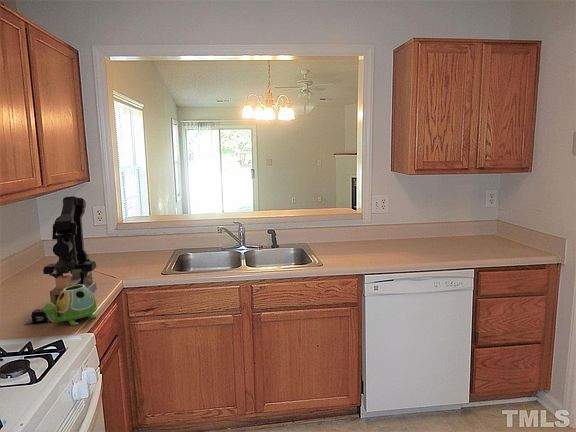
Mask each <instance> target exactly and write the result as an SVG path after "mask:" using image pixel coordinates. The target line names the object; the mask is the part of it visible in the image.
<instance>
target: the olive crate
mask: <svg viewBox="0 0 576 432" xmlns="http://www.w3.org/2000/svg"><path fill="white" fill-rule="evenodd" d="M80 272H81V269H74V270H72V274H71V276H72V277H80V274H79V273H80Z"/></svg>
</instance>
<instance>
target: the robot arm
mask: <svg viewBox="0 0 576 432" xmlns="http://www.w3.org/2000/svg"><path fill="white" fill-rule="evenodd" d="M86 207H87V202H86V200H85V199H84V198H82V197H78V196H74V195H73V196H64V197H63V199H62V208H61V212H60V216H58V217H56V218H55V220H54V222H53V224H52V235H51V236H52V237H51V238H52V240H53V241H54V240H56V243H54V245H53V246H52V252H53V254H54V255H55V256H56V257H58V261H57V262H56V263H48V264H47V265H45V266H44V267H43V268H42V272H43V274H44V275H49V276H51V277H53V278H54V279H56V278H57V277H59V276H64V274H66V275H67V274H69V273H70V275H72V270H74V269H81V272H80V273H79V274H80V278H81V285H84V283H85V280H86V277H87V274H88V272H93V271H94V270H95V269H97V263H96V261H94V260H93V261H92V260H91V258H89V254H88V253H87V252H86V250H85V244H84V243H85V242H84V233H83V219H82V218H83V216H84V214H85V211H86Z"/></svg>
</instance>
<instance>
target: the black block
mask: <svg viewBox="0 0 576 432" xmlns="http://www.w3.org/2000/svg"><path fill="white" fill-rule="evenodd" d="M51 323H53V322H52V321H50V320H49V319H48V317H47V314H46V313H44V312H43V308H41V309H40V308H39V309H34V310H33V311H32V312H31V318H29V319H28V320H27V321H26V322H25V323H24V324H23V326H31V325H43V324H51Z"/></svg>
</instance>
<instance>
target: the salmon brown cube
mask: <svg viewBox="0 0 576 432" xmlns="http://www.w3.org/2000/svg"><path fill="white" fill-rule="evenodd" d="M71 276H72V275H71V274H70V275H67V274H66V275H63V276H59V277H57V278H54V279H55V287H56V289H64V288H67V287H70V286H71Z"/></svg>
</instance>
